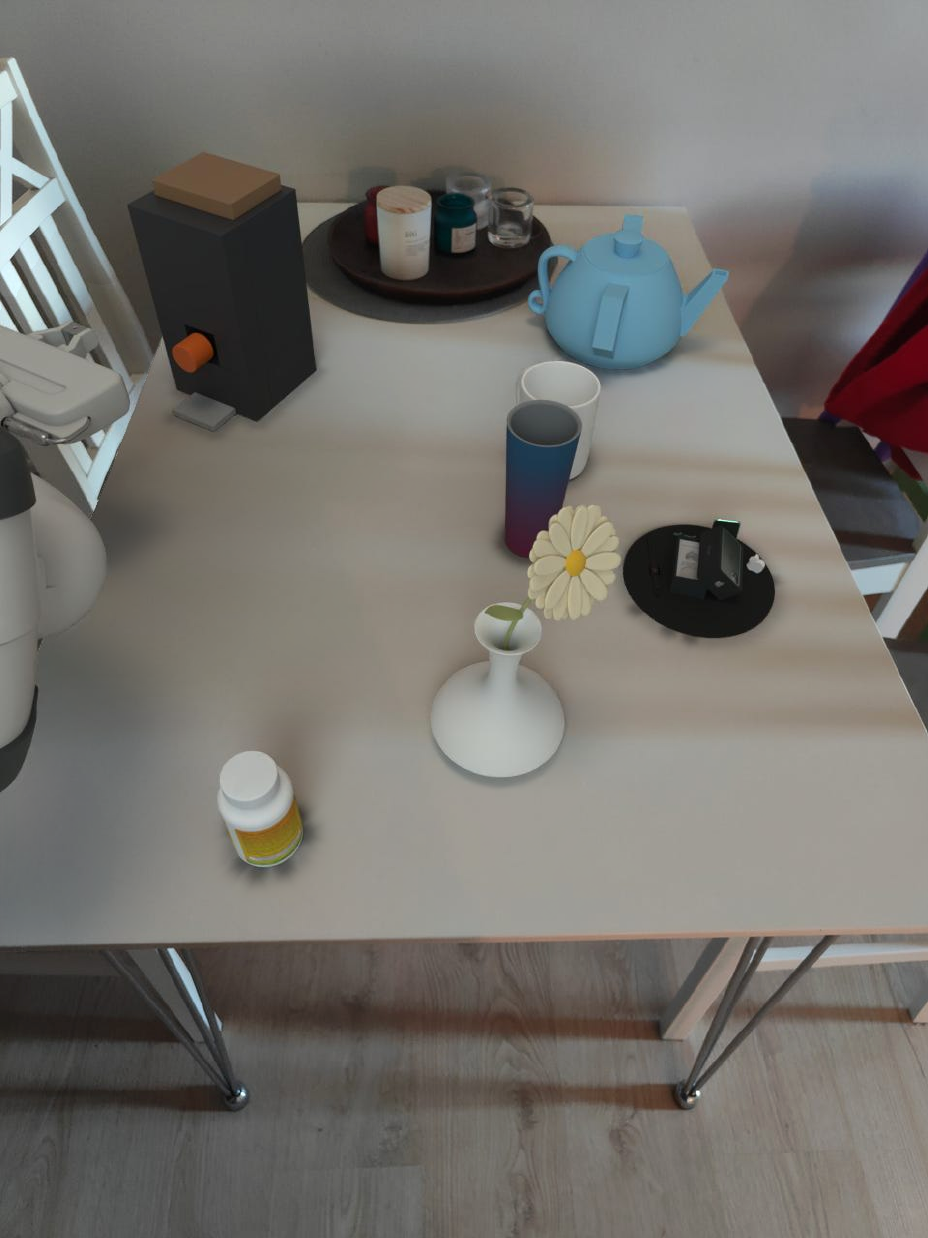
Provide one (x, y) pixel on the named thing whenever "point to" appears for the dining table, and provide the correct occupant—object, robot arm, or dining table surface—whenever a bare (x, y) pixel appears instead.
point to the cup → (537, 468)
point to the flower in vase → (501, 688)
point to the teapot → (619, 299)
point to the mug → (564, 397)
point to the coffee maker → (227, 284)
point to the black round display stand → (699, 579)
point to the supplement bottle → (259, 809)
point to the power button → (192, 352)
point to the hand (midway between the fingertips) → (85, 331)
